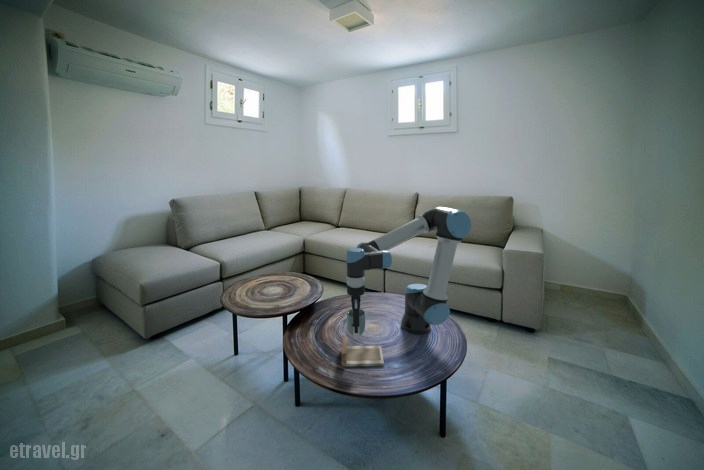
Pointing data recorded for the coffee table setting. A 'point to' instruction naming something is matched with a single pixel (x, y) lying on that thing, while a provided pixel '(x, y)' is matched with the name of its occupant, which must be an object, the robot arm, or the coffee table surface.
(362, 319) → the cup
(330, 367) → the coffee table surface
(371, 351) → the tray
